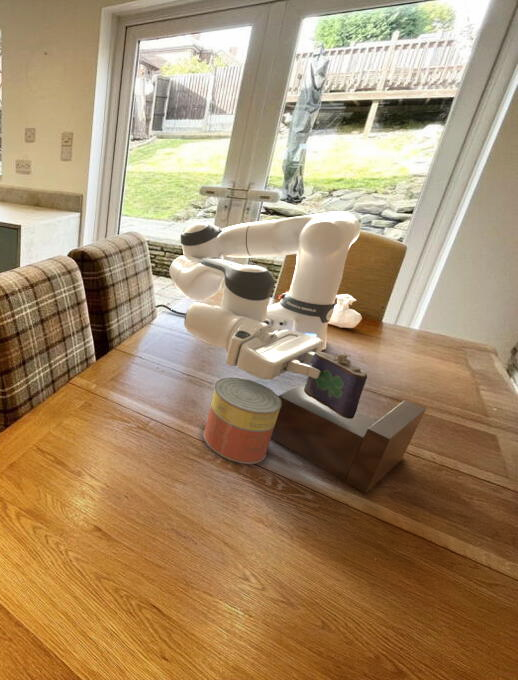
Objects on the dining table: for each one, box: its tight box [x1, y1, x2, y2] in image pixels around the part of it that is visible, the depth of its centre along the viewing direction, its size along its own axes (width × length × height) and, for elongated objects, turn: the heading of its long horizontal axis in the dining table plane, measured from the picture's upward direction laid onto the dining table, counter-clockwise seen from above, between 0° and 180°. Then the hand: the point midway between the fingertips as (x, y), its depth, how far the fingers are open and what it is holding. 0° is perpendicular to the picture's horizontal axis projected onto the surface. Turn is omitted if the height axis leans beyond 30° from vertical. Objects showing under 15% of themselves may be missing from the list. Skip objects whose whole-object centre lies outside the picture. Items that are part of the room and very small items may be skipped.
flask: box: [304, 351, 368, 419], centre depth 72 cm, size 9×3×11 cm, turn 13°
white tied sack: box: [328, 293, 363, 329], centre depth 132 cm, size 12×8×11 cm
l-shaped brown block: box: [270, 384, 427, 494], centre depth 77 cm, size 17×16×12 cm
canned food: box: [203, 377, 282, 465], centre depth 78 cm, size 11×11×12 cm
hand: (325, 371), depth 74 cm, fingers closed on flask, 3 cm apart
